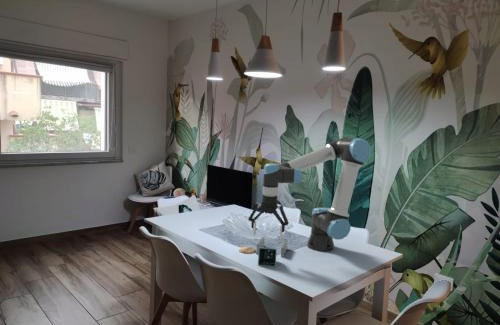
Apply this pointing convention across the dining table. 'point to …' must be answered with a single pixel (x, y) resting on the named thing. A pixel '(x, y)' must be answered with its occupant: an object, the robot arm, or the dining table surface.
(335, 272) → the dining table surface
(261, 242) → the grey holder
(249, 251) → the cork mat
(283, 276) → the dining table surface
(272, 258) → the flower pot
